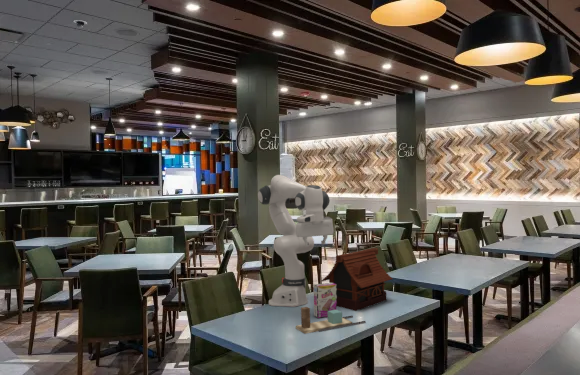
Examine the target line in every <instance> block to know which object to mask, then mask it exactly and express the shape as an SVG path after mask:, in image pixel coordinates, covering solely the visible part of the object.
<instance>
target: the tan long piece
mask: <svg viewBox="0 0 580 375" xmlns="http://www.w3.org/2000/svg"><path fill="white" fill-rule="evenodd" d="M300 310H301V312H300V315H301V316H300V318H301V320H300V321H301V324H299V325H295V329H296V330H298V331H299V332H301V333H303V334H305V335H306V334H311V333H317V332H319V330H320V329H325V328H330V327H335V326H340V325H346V324H351V323H353V321H351V320H349V319H348V318H347V319H345V318H342V323H337V324H332V323H330V322H328V319H325V321H324V320H319V321H314V323H313V322H311V308H310V307H308V306H304V307H301V308H300Z"/></svg>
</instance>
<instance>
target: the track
mask: <svg viewBox="0 0 580 375" xmlns="http://www.w3.org/2000/svg"><path fill="white" fill-rule="evenodd" d="M342 318H345V319H347V320H348V319H351V318H354V315H348V316H342ZM325 320H326V319H325ZM325 320H323V321H325ZM314 322H315V321H314ZM314 322H312V323H314ZM362 324H367V323H366V320H363V321H357V322H352V323H351V324H346V325H340V326H335V327H330V328H325V329H320V330H319V331H318V332H319V333H320V332H326V331H330V330H337V329H342V328H346V327H353V326H357V325H362Z"/></svg>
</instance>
